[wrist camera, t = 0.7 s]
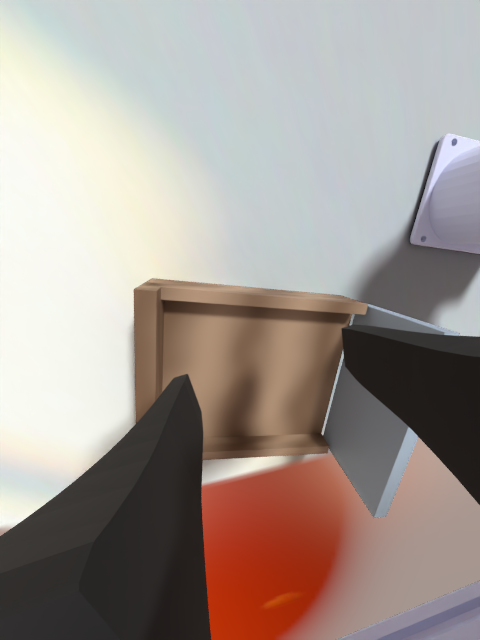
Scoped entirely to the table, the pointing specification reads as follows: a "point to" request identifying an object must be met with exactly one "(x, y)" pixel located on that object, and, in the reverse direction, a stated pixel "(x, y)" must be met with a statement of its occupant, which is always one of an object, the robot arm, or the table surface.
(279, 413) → the tray
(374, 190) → the table surface
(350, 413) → the panel
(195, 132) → the table surface
